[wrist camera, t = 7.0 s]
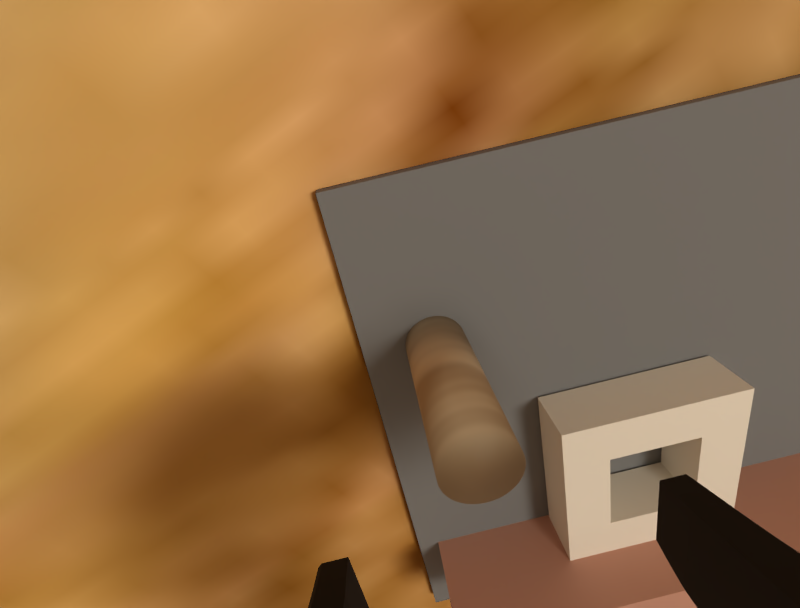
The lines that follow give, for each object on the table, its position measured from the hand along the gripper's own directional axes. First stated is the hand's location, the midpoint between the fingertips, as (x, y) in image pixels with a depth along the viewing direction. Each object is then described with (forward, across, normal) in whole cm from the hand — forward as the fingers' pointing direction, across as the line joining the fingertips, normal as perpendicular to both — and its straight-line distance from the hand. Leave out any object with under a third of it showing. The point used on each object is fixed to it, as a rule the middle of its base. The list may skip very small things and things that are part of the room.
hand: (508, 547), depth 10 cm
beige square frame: (+9, -8, +8) cm, 15 cm away
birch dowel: (+9, 0, 0) cm, 9 cm away
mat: (+10, -8, +5) cm, 14 cm away
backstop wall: (+9, -8, +13) cm, 18 cm away
